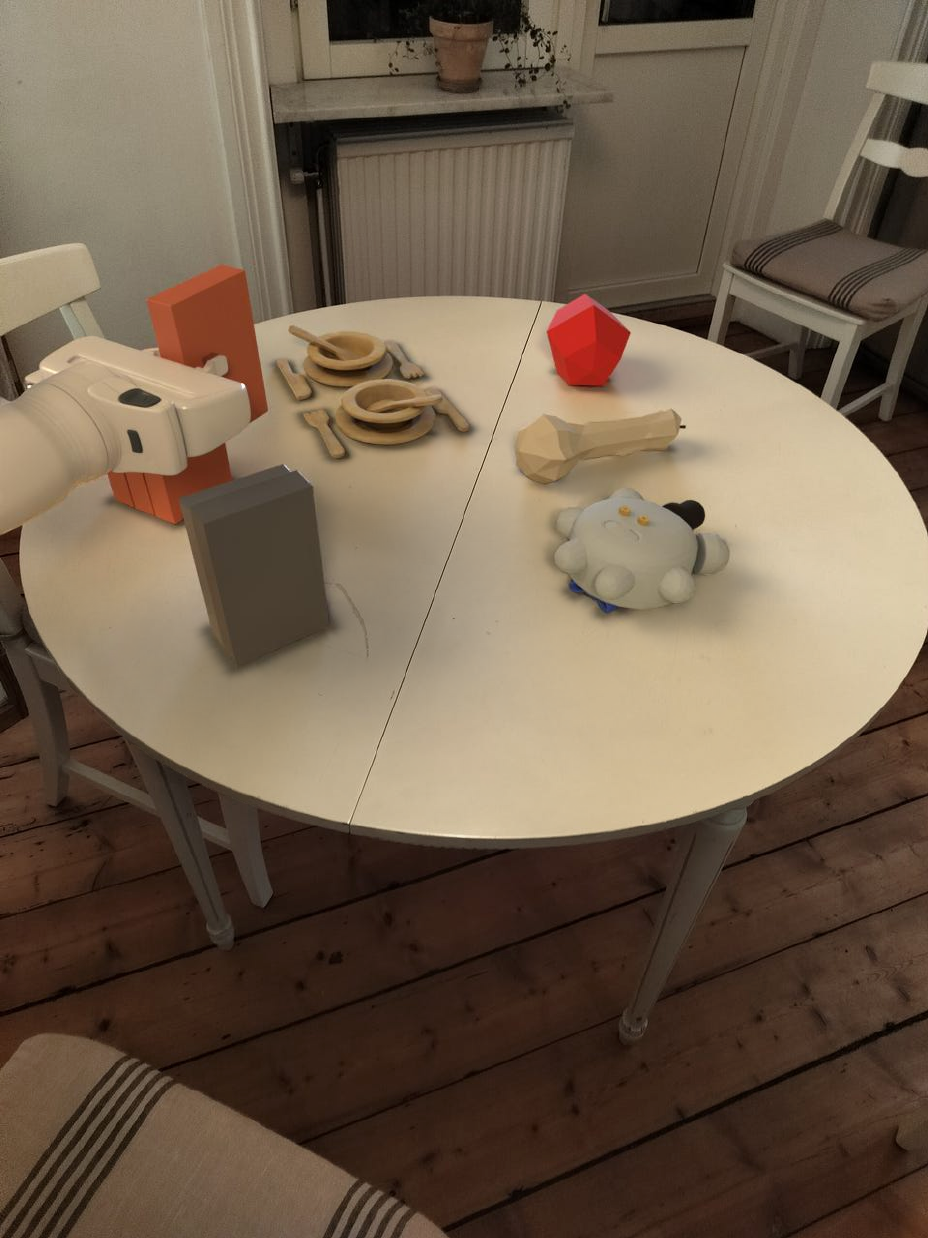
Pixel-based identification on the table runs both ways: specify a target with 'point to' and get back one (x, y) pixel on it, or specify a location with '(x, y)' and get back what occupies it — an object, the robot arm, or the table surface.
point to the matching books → (171, 484)
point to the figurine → (637, 551)
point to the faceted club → (588, 441)
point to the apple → (586, 342)
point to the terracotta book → (212, 327)
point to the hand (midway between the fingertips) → (204, 355)
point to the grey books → (258, 561)
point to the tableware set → (367, 390)
